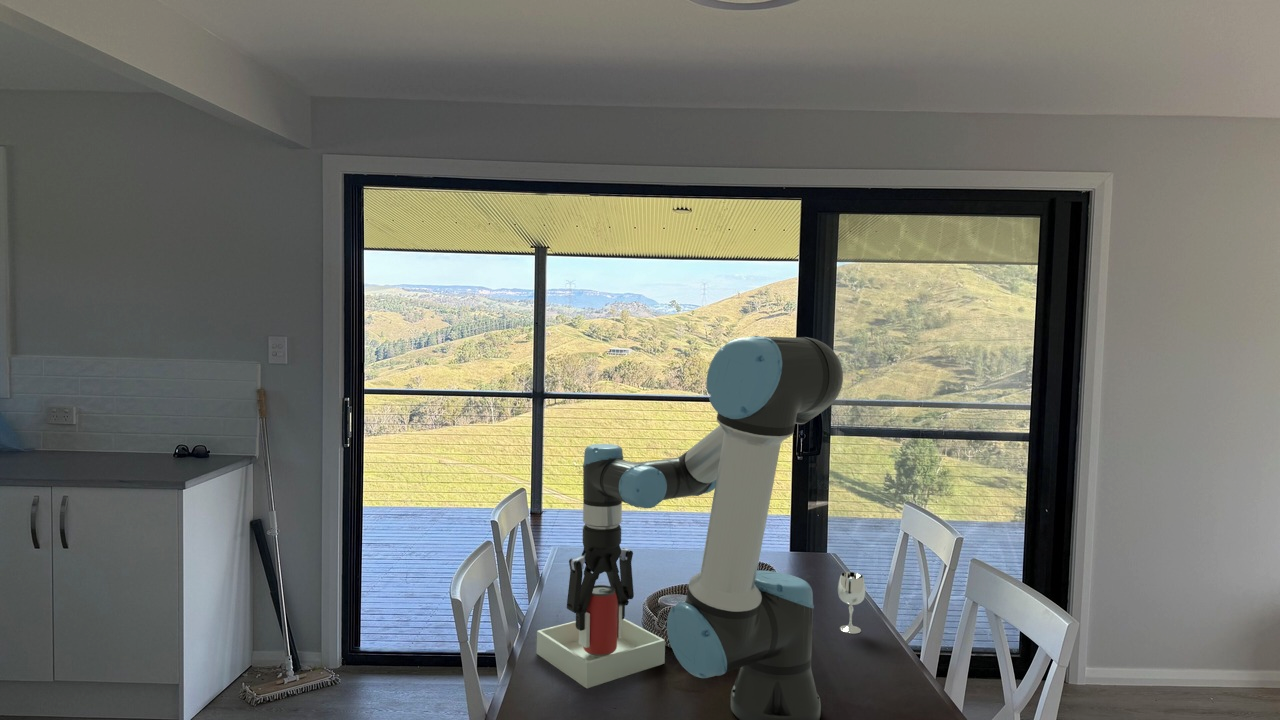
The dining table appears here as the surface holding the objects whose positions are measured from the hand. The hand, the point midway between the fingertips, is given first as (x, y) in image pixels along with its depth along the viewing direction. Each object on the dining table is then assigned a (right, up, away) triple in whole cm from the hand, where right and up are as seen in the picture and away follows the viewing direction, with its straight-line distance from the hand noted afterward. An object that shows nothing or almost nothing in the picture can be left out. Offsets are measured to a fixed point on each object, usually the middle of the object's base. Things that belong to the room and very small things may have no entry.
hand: (600, 640), depth 151 cm
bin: (0, -4, 0) cm, 4 cm away
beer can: (0, -2, 0) cm, 2 cm away
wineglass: (+54, -4, +17) cm, 56 cm away
